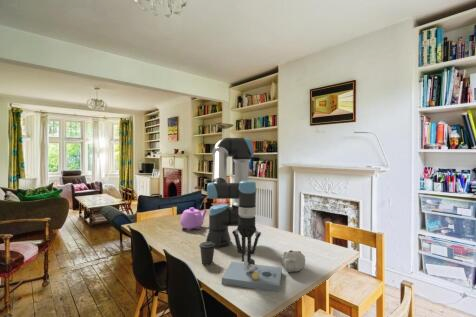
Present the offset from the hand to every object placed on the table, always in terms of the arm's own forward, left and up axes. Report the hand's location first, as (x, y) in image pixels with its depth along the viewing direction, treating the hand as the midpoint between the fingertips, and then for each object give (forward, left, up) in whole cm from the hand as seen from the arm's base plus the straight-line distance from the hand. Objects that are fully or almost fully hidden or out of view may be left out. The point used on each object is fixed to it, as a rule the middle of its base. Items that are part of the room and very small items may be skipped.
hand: (246, 268), depth 108 cm
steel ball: (+2, 0, 0) cm, 2 cm away
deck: (+3, 0, -4) cm, 5 cm away
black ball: (+1, +6, 0) cm, 6 cm away
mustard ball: (+5, -5, 0) cm, 7 cm away
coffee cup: (-22, +9, -4) cm, 24 cm away
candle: (+20, +14, -4) cm, 25 cm away
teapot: (-51, +60, -4) cm, 79 cm away
